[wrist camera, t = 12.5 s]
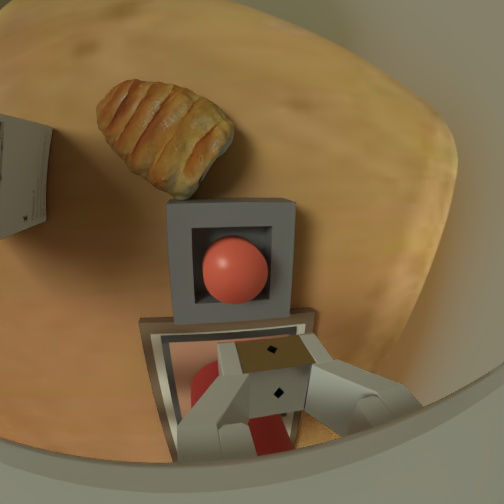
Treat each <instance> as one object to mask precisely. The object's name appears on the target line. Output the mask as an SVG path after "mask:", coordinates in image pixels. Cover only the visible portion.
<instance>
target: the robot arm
mask: <svg viewBox="0 0 504 504" xmlns="http://www.w3.org/2000/svg"><path fill="white" fill-rule="evenodd" d="M217 355H218V371H219V376H218V377H217V378H216V379H215V380H214V382H213V383H212V384H211V385H210V387H209V388H208V389H207V390H206V392H205V393H204V394H203V395H202V397H201V398H200V399H199V400H198V401H197V403H196V404H195V405H194V406H193V408H192V409H191V410H190V411H189V412H188V414H187V415H186V416H185V417H184V418H183V420H182V421H181V422H180V423H179V424H178V426H177V457H178V463H148V462H128V461H115V460H105V459H96V458H89V457H82V456H76V455H70V454H64V453H59V452H54V451H49V450H45V449H41V448H37V447H33V446H29V445H25V444H21V443H18V442H14V441H11V440H8V439H5V438H2V437H0V504H504V362H503V363H502V364H501V365H499V366H497V367H496V368H495V369H493V370H491V371H490V372H488V373H487V374H485V375H483V376H482V377H480V378H478V379H477V380H475V381H473V382H472V383H470V384H468V385H466V386H464V387H463V388H461V389H459V390H457V391H455V392H453V393H451V394H450V395H448V396H446V397H444V398H442V399H440V400H438V401H436V402H433V403H431V404H429V405H427V406H425V407H423V406H422V405H421V404H420V403H419V401H418V400H417V399H416V398H415V397H414V396H413V395H412V394H411V393H410V392H409V390H408V389H407V388H406V387H405V386H404V385H403V384H401V383H398V382H395V381H392V380H389V379H387V378H384V377H381V376H379V375H376V374H374V373H371V372H369V371H366V370H364V369H361V368H358V367H356V366H353V365H351V364H348V363H346V362H343V361H341V360H339V359H337V360H333V358H332V357H331V356H330V354H329V353H328V352H327V350H326V349H325V348H324V346H323V345H322V344H321V342H320V341H319V340H318V338H317V337H316V335H315V334H314V333H312V332H310V333H304V334H298V335H294V336H287V337H280V338H272V339H258V340H245V341H230V342H218V343H217ZM300 410H304V411H305V412H306V413H308V414H309V415H311V416H312V417H314V418H315V419H317V420H318V421H319V422H321V423H322V424H324V425H325V426H327V427H328V428H330V429H331V430H333V431H334V432H336V433H337V434H339V435H340V436H342V438H338V439H335V440H331V441H327V442H324V443H320V444H316V445H312V446H307V447H303V448H299V449H294V450H289V451H284V452H279V453H273V454H267V455H261V456H257V453H256V450H255V446H254V443H253V439H252V436H251V432H250V429H249V426H248V425H247V424H248V422H249V419H251V418H257V417H263V416H269V415H274V414H281V413H287V412H294V411H300Z"/></svg>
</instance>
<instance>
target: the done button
mask: <svg viewBox="0 0 504 504" xmlns="http://www.w3.org/2000/svg"><path fill="white" fill-rule="evenodd" d="M202 268H203V277H204V283H205V286H206V288H207V290H208V291H209V293H210V294H211V295H212V296H213V297H214V298H216V299H217V300H219V301H221V302H224V303H227V304H241V303H245V302H247V301H250V300H252V299H253V298H255V297H256V296H257V295H258V294H259V293H260V292H261V291H262V289H263V288H264V286H265V284H266V281H267V277H268V267H267V263H266V260H265V258H264V257H263V255H262V254H261V253H260V251H259V250H258V249H257V248H256V246H255V245H254V244H253V243H252V242H251V241H249V240H248V239H246V238H244V237H241V236H237V235H228V236H224V237H221V238H219V239H217V240H215V241H214V242H213V243H212V244H210V246H209V247H208V248H207V250H206V251H205V254H204V256H203V261H202Z"/></svg>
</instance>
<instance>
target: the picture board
mask: <svg viewBox="0 0 504 504" xmlns="http://www.w3.org/2000/svg"><path fill="white" fill-rule="evenodd" d="M314 319H315V311H314V309H313V308H303V309H292V310H290V316H289V317H284V318H274V319H262V320H250V321H236V322H221V323H203V324H180V325H174V317H163V318H140V320H139V328H140V333H141V339H142V344H143V349H144V354H145V359H146V364H147V369H148V373H149V378H150V382H151V386H152V390H153V394H154V398H155V402H156V406H157V410H158V414H159V417H160V421H161V424H162V428H163V431H164V435H165V438H166V441H167V444H168V447H169V451H170V454H171V457H172V460H173V463H178V457H177V426H178V424H179V423H180V422H181V421H182V420H183V418H184V417H185V416H186V415H187V414H188V412H189V411H190V410H191V382H192V380H193V378H194V376H195V374H196V373H197V372H198V371H199V370H200V369H202V368H203V367H204V366H206V365H208V364H210V363H212V362H213V361H218V355H217V343H218V342H230V341H245V340H258V339H272V338H280V337H287V336H294V335H298V334H304V333H310V332H312V333H313V328H314ZM300 414H301V410H300V411H294V412H287V413H281V414H280V415H281V417H282V420H283V422H284V425H285V427H286V430H287V432H288V435H289V437H290V440H291V442H292V445H293V447H294V445H295V440H296V435H297V430H298V425H299V419H300Z"/></svg>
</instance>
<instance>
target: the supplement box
mask: <svg viewBox="0 0 504 504" xmlns="http://www.w3.org/2000/svg"><path fill="white" fill-rule="evenodd" d="M52 131H53V128H52V127H51V126H48V125H44V124H40V123H36V122H32V121H28V120H24V119H20V118H16V117H12V116H8V115H3V114H0V240H1V239H3V238H6V237H8V236H10V235H13V234H15V233H18V232H20V231H23V230H25V229H27V228H30V227H32V226H35V225H37V224H40V223H43V222H45V221H46V180H47V168H48V158H49V150H50V143H51V137H52Z"/></svg>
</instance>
